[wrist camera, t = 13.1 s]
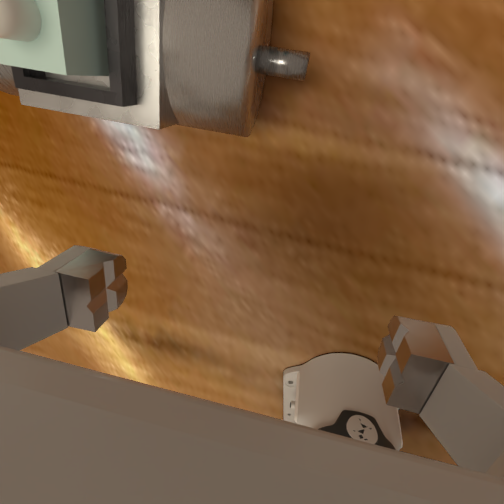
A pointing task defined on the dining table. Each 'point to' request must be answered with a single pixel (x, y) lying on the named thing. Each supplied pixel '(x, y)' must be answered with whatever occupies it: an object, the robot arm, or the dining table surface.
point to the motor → (172, 67)
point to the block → (54, 36)
